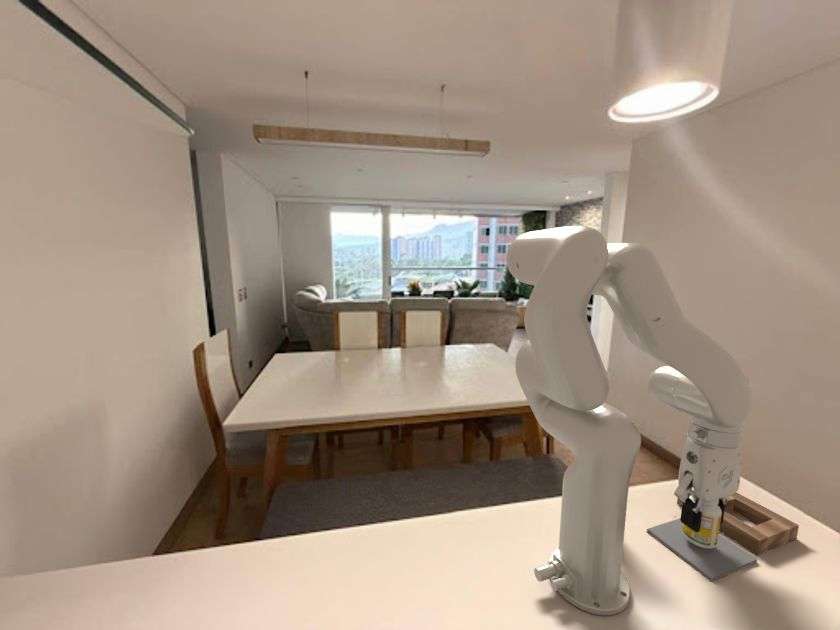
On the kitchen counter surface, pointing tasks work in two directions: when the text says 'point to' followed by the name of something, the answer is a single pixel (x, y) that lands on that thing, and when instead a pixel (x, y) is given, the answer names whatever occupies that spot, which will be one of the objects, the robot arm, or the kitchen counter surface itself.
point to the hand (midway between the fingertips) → (701, 522)
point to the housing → (767, 531)
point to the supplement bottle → (705, 525)
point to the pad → (702, 551)
